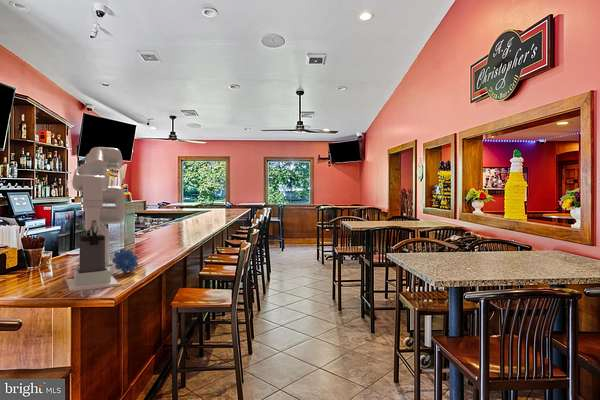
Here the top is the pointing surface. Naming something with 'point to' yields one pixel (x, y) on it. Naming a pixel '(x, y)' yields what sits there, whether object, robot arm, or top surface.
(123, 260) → the grapes
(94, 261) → the electronic device
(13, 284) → the top surface
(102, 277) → the dock
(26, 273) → the top surface
